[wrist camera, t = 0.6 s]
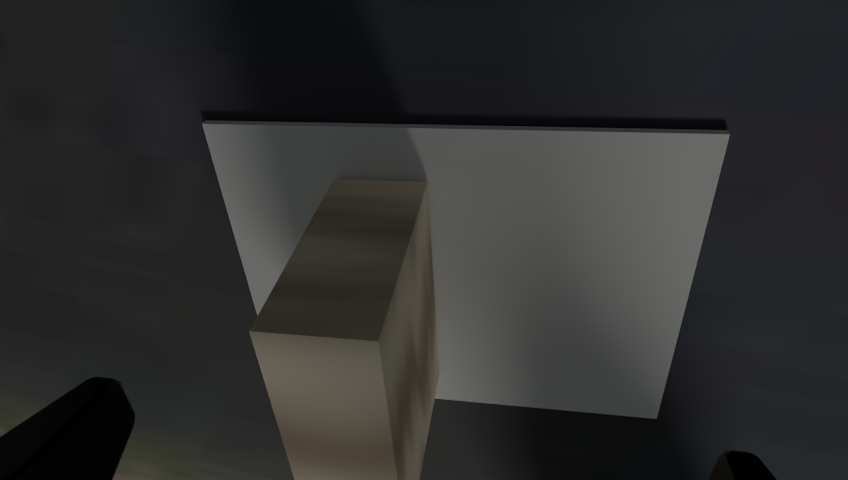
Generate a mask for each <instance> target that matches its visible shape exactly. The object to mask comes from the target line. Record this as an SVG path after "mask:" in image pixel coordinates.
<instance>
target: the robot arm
mask: <svg viewBox="0 0 848 480" xmlns="http://www.w3.org/2000/svg"><path fill="white" fill-rule="evenodd" d="M134 422H135V412H134V409H133V407H132V405H131V403H130V400H129V398H128V396H127V394H126V392H125V390H124V388H123V386H122V384H121V383H120V382H119V381H118V380H116V379H110V378H102V377H93V378H90V379H88V380H86V381H84V382H83V383H81V384H80V385H78V386H77V387H75V388H74V389H72V390H71V391H69V392H68V393H66V394H65V395H63V396H61V397H60V398H58V399H57V400H55V401H54V402H52V403H51V404H49V405H48V406H46V407H45V408H43V409H42V410H40V411H39V412H37V413H36V414H34V415H33V416H31V417H30V418H28V419H27V420H25V421H24V422H22V423H21V424H19V425H18V426H16V427H15V428H13V429H11V430H10V431H8V432H7V433H5V434H4V435H2V436H1V437H0V480H112V479H113V477H114V474H115V472H116V469H117V467H118V464H119V462H120V459H121V457H122V454H123V452H124V449H125V447H126V444H127V442H128V439H129V437H130V434H131V432H132V429H133V427H134ZM708 480H776V478H775V477H774V476H773V475H772V473H771V472H770V471H769V470H768V469H767V467H766V466H765V465H764V464H763V462H762V461H761V460H760V459H759V458H758V457H757V456H756V455H754V454H752V453H749V452H740V451H731V450H724V451H722V452H721V453H720V455H719V456H718V459H717V461H716V463H715V466H714V468H713V470H712V472H711V475H710V477H709V479H708Z"/></svg>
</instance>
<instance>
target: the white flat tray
mask: <svg viewBox="0 0 848 480" xmlns="http://www.w3.org/2000/svg"><path fill="white" fill-rule="evenodd" d="M202 125H203V129H204V132H205V136H206V139H207V143H208V146H209V150H210V153H211V157H212V160H213V163H214V167H215V170H216V174H217V177H218V181H219V184H220V188H221V191H222V195H223V198H224V202H225V205H226V208H227V212H228V215H229V219H230V222H231V226H232V229H233V233H234V236H235V240H236V243H237V247H238V250H239V253H240V257H241V260H242V264H243V267H244V271H245V274H246V278H247V281H248V285H249V288H250V292H251V295H252V298H253V302H254V305H255V309H256V312H257V316H258V314H259V313H260V311H261V309H262V307H263V305H264V304H265V302H266V300H267V298H268V296H269V295H270V293H271V291H272V289H273V287H274V286H275V284H276V282H277V280H278V278H279V277H280V275H281V273H282V271H283V269H284V268H285V266H286V264H287V262H288V260H289V259H290V257H291V255H292V253H293V251H294V250H295V248H296V246H297V244H298V242H299V241H300V239H301V237H302V235H303V233H304V232H305V230H306V228H307V226H308V224H309V223H310V221H311V219H312V217H313V215H314V214H315V212H316V210H317V208H318V206H319V205H320V203H321V201H322V199H323V197H324V196H325V194H326V192H327V190H328V188H329V187H330V185H331V183H332V181H333V179H355V180H384V181H413V182H428V195H429V211H430V228H431V245H432V261H433V278H434V294H435V311H436V327H437V344H438V361H439V377H438V383H437V388H436V393H435V398H436V399H447V400H457V401H468V402H479V403H490V404H501V405H511V406H522V407H533V408H544V409H555V410H565V411H576V412H587V413H598V414H609V415H619V416H630V417H641V418H652V419H657V416H658V412H659V408H660V404H661V400H662V397H663V393H664V389H665V385H666V381H667V377H668V373H669V369H670V365H671V362H672V358H673V354H674V350H675V346H676V342H677V338H678V334H679V330H680V327H681V323H682V319H683V315H684V311H685V307H686V303H687V299H688V295H689V292H690V288H691V284H692V280H693V276H694V272H695V268H696V264H697V260H698V257H699V253H700V249H701V245H702V241H703V237H704V233H705V229H706V225H707V222H708V218H709V214H710V210H711V206H712V202H713V198H714V194H715V190H716V187H717V183H718V179H719V175H720V171H721V167H722V163H723V159H724V155H725V152H726V148H727V144H728V140H729V136H730V133H729V132H728V130H693V129H639V128H586V127H532V126H479V125H425V124H372V123H318V122H265V121H211V120H206V121H205V122H204V123H202Z"/></svg>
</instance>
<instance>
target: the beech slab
mask: <svg viewBox="0 0 848 480" xmlns="http://www.w3.org/2000/svg"><path fill="white" fill-rule="evenodd" d="M249 332H250V336H251V339H252V342H253V346H254V349H255V352H256V355H257V359H258V362H259V365H260V368H261V372H262V375H263V378H264V382H265V385H266V388H267V391H268V395H269V398H270V401H271V404H272V408H273V411H274V414H275V418H276V421H277V424H278V427H279V431H280V434H281V437H282V440H283V444H284V447H285V450H286V453H287V457H288V460H289V463H290V467H291V470H292V473H293V476H294V480H419V479H420V474H421V468H422V463H423V458H424V452H425V447H426V442H427V436H428V431H429V425H430V420H431V415H432V409H433V404H434V399H435V393H436V388H437V383H438V377H439V361H438V344H437V327H436V311H435V294H434V278H433V261H432V245H431V228H430V211H429V195H428V182H413V181H384V180H355V179H333V181H332V183H331V185H330V187H329V188H328V190H327V192H326V194H325V196H324V197H323V199H322V201H321V203H320V205H319V206H318V208H317V210H316V212H315V214H314V215H313V217H312V219H311V221H310V223H309V224H308V226H307V228H306V230H305V232H304V233H303V235H302V237H301V239H300V241H299V242H298V244H297V246H296V248H295V250H294V251H293V253H292V255H291V257H290V259H289V260H288V262H287V264H286V266H285V268H284V269H283V271H282V273H281V275H280V277H279V278H278V280H277V282H276V284H275V286H274V287H273V289H272V291H271V293H270V295H269V296H268V298H267V300H266V302H265V304H264V305H263V307H262V309H261V311H260V313H259V314H258V316H257V318H256V320H255V322H254V323H253V325H252V327H251V329H250V331H249Z"/></svg>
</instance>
